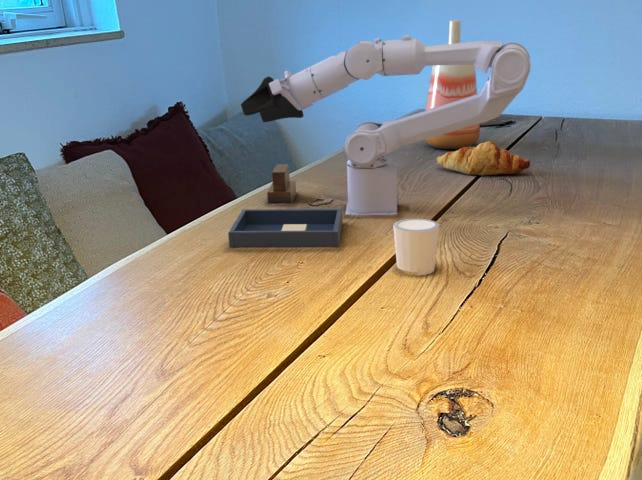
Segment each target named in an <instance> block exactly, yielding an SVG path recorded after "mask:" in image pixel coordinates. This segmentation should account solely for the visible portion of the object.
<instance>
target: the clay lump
mask: <svg viewBox="0 0 642 480" xmlns="http://www.w3.org/2000/svg"><path fill="white" fill-rule="evenodd" d="M281 231H307V224H284V225H283V228H282V230H281Z"/></svg>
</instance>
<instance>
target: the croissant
mask: <svg viewBox="0 0 642 480" xmlns="http://www.w3.org/2000/svg"><path fill="white" fill-rule="evenodd" d="M436 163H437V164H438V165H439V166H440V167H441V168H444V169H447V170H449V171H453V172H457V173H461V174H465V175H472V176H473V175H474V176H492V175H495V176H496V175H513V174H518V173H521V172H523V171H525V170H527V169H529V168H530V167H531V160H530V159H528V158H522V157H521V156H520V155H517V154H512V153H510V152H509V151H508V150H507V149H504V148H500V147H499V146H498V144H496V143H495V142H493V141H490V140H489V141H484V142H480V143H479V144H478V145H476V146H470V147H463V148H461V149H456V150H455V151H454V150H453V151H448V152H446V153H445V154H443V155H439V156H438V157H437V158H436Z"/></svg>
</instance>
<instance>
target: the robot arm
mask: <svg viewBox="0 0 642 480" xmlns="http://www.w3.org/2000/svg"><path fill="white" fill-rule="evenodd" d="M373 41H374V42H372V41H370V40H369V41H368V40H362V41H357V42H356V43H355V44H353V45H352V46H351V47H350V48H349V49H348V50H346V51H344V50H343V51H340V52H339V53H338V54H337V55H336V54H334V55H331V56H329V57H326V58H324V59H323V60H321V61H319V62H317V63H315V64H313V65H310V66H309V67H306V68H304V69H303V70H300V71H299V72H296V73H294V74H292V72H291V71H289V70H285V71H284V72H283V73H284V76H285V77H284V78H281V79H279V78H277V79H274V78H273V77H272V76H265V78H263V80H262V81H261V83H260V84H259V86H258V87H257V88H256V90H255V91H254V92H253V93H252V94H251V95H249V96H248V97H247V98H245V100H244V101H242V103H240V107H241V109H242V112H243V115H244V116H252V115H255V114H258V113H259V114H260V118H261V120H262V123H270V122H274V121H278V120H283V119H293V118H295V119H301V118H304V112H303V110H305V109H308V108H310V107H311V106H314V103H317V102H318V101H321V100H323V99H325V98H327V97H330V96H332V95H334V94H336V93H338V92H340V91H342V90H344V89H346V88H348V87H349V86H350V85H351V84H353V83H355V82H357V81H359V80H364V81H367V80H370V79H372V78H373V77H374V76H375V75H376V74H378V75H380V76H382V77H395V76H412V75H414V76H415V75H420V73H421V72H422V71H423V70H424V68H425V67H429V66H431V67H432V66H436V65H473V66H475V69H478V70H480V71H482V73H485V74H487V73H488V70H489V68H490V72H489V77H487V80H486V82H485V84H484V85H483V87H482V89H481V91H480V92H479V93H477V95H473V96H470V97H467V98H464V99H461V100H458V101H454V102H451V103H448V104H445V105H442V106H439V107H435V108H432V109H429V110H426V109H425V110H426V111H425V110H423V111H420V112H416V113H414V114H410V115H407V116H404V117H401V118H398V119H392V120H386V121H383V122H375V121H365V122H362V123H360V125H358V127H356V129H354V131H353V132H351V133H350V134H349V135H348V136H347V138H346V139H345V141H344V142H345V144H344V153H345V156H346V157H347V159H348V160H346V175H347V176H346V177H347V203H346V207H345V208H346V209H345V213H344V215H347V216H361V215H362V216H364V215H365V216H367V215H369V216H372V215H373V216H374V215H381V216H382V215H383V216H386V215H388V216H389V215H397V214H398V205H399V204H400V195H399V194H398V164H397V163H388V162H387V158H386V157H385V155H388V154H391V153H393V152H394V151H397V150H398V149H401V148H403V147H406V146H409V145H413V144H416V143H420V142H423V141H425V140H426V139H429V138H433V137H436V136H439V135H442V134H446V133H449V132H452V131H455V130H459V129H462V128H465V127H469V126H472V125H475V124H478V123H482V122H485V121H488V120H491V119H494V120H496V118H499V117H500V116H501V115H502V113H504V112H505V110H506V109H507V108H508V107H509V105H510V104H511V103H512V102H513V100H514V99H515V98H516V97H517V96H518V95H519V94H520V93H521V92H522V91H523V89H524V87H525V86H526V83H527V80H528V78H529V75H530V72H531V68H532V67H531V64H532V63H531V56H530V54H529V51H528V49H527V48H526V47H525V46H524V45H523V44H520V43H518V42H507V43H504V44H503V41H487V40H479V41H467V42H460V43H456V44H448V43H445V44H436V45H425V44H423V43H422V42H421V41H420V40H419V39H418V38H412V36H411V35H410V34H409V35H407V34H406V35H402V36H401V39H391V40H390V39H389V40H382V38H381V37H376V38H374V39H373Z"/></svg>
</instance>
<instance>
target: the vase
mask: <svg viewBox="0 0 642 480" xmlns="http://www.w3.org/2000/svg"><path fill="white" fill-rule="evenodd" d="M461 25H462V21H461V20H460V19H450V20H449V26H448V29H449V30H448V41H447V42H448V43H447V44H456V43H461V30H462V29H461V28H462V27H461ZM429 79H430V80H429V84H428V92H427V98H426V105H425V110H424V111H426V110H429V109H432V108H435V107H439V106H442V105H445V104H448V103H451V102H454V101H458V100H461V99H464V98H467V97H470V96H473V95H477V94H478V88H477V87H478V85H477V72H476V67H475V66H473V65H436V66H431V73H430V78H429ZM480 137H481V126H480V123H478V124H475V125H472V126H469V127H465V128H462V129H459V130H455V131H452V132H449V133H446V134H442V135H439V136H436V137H433V138H429V139H426V140H424V142H425V143H426V144H427V145H428V146H430V147H432V148H435V149H440V150H459V149H461V148H463V147H473V146H474V145H475V144H477V142H478V141H479V140H480Z"/></svg>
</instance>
